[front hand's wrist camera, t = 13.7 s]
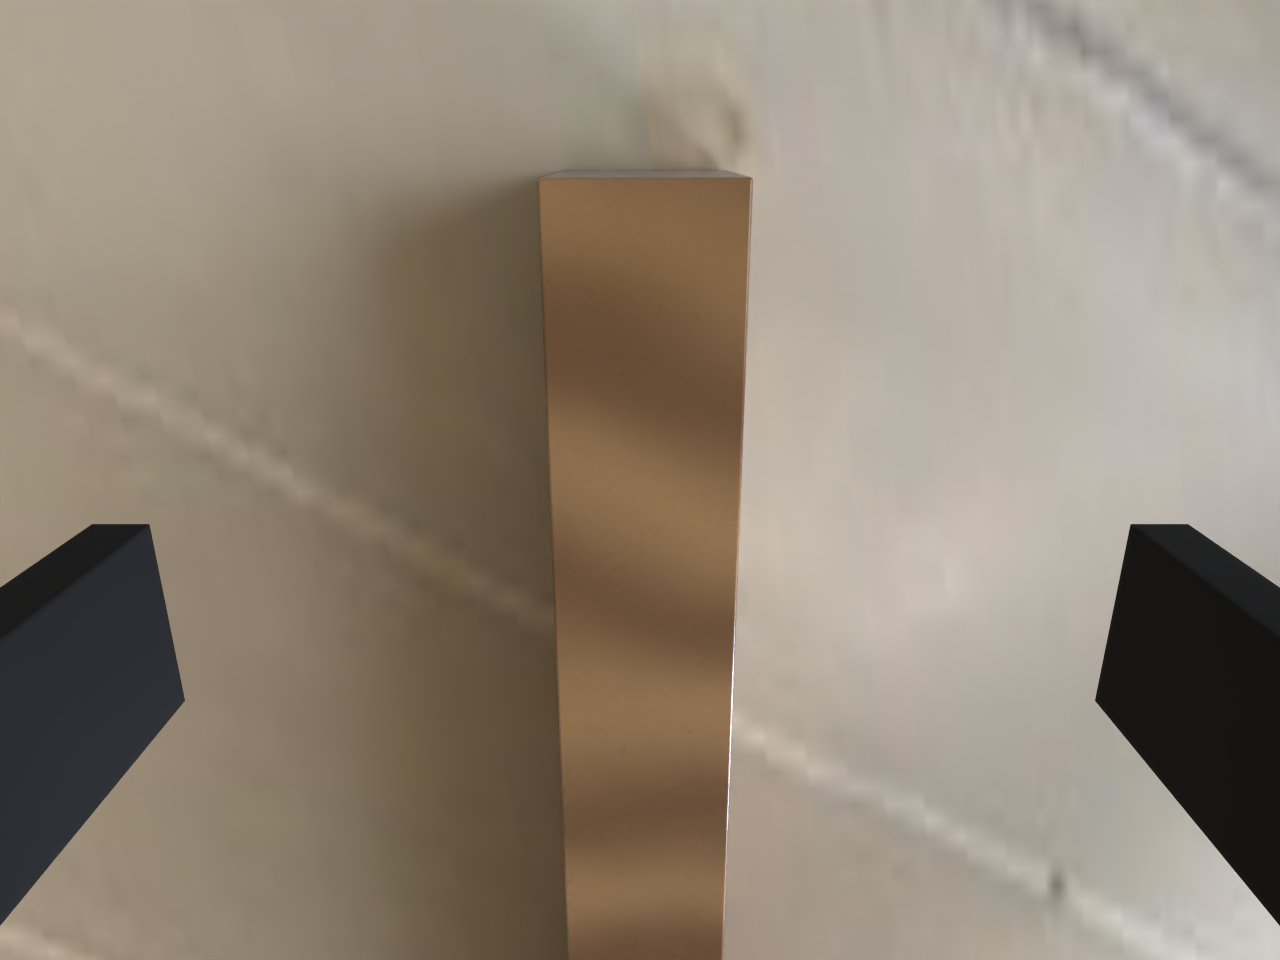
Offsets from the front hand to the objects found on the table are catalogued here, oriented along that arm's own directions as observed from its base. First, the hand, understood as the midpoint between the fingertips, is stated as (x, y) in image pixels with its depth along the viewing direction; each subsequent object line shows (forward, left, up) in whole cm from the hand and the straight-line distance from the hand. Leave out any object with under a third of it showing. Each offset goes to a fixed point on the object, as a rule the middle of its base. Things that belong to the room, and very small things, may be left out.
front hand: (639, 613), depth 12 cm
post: (-3, +30, -21) cm, 37 cm away
